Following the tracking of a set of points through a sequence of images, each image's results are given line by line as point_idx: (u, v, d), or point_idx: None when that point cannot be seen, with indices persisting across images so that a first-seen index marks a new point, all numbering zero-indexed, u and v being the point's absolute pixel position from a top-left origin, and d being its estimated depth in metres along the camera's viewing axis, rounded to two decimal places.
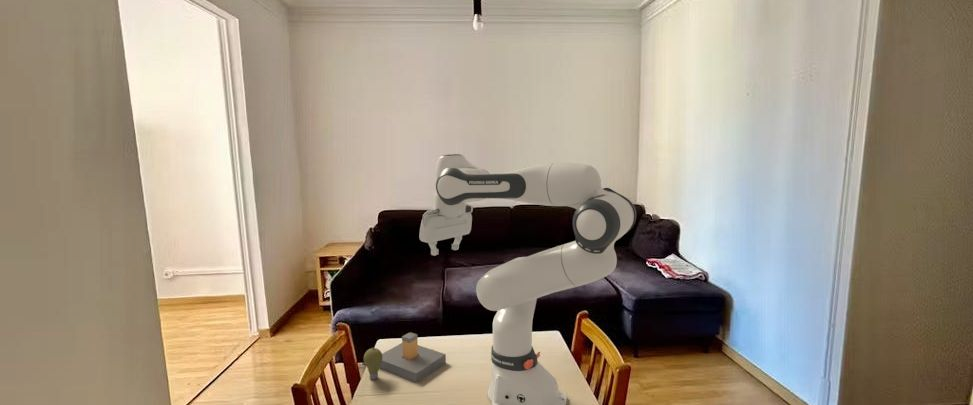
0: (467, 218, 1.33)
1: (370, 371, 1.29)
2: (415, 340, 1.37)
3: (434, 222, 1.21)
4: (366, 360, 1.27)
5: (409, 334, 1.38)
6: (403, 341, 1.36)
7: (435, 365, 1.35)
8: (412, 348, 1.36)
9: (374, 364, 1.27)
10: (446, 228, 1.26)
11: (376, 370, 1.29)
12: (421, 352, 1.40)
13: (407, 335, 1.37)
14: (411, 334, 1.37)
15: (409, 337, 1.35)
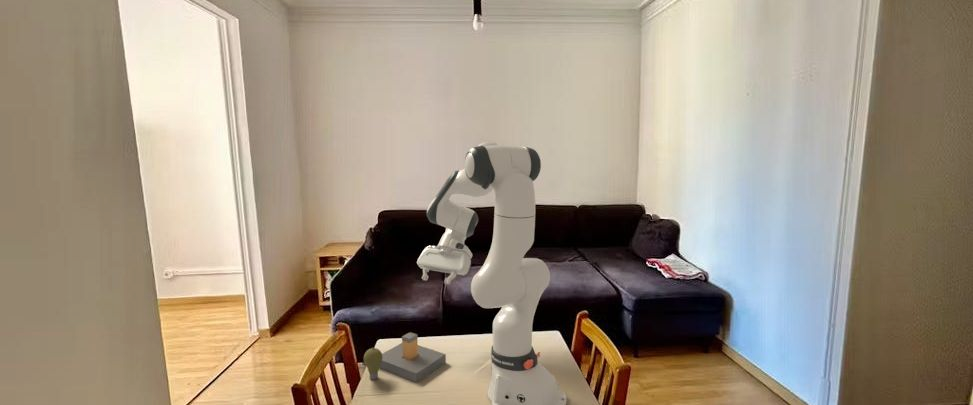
0: (461, 256, 1.49)
1: (370, 371, 1.29)
2: (415, 340, 1.37)
3: (427, 250, 1.56)
4: (366, 360, 1.27)
5: (409, 334, 1.38)
6: (403, 341, 1.36)
7: (435, 365, 1.35)
8: (412, 348, 1.36)
9: (374, 364, 1.27)
10: (437, 258, 1.52)
11: (376, 370, 1.29)
12: (421, 352, 1.40)
13: (407, 335, 1.37)
14: (411, 334, 1.37)
15: (409, 337, 1.35)
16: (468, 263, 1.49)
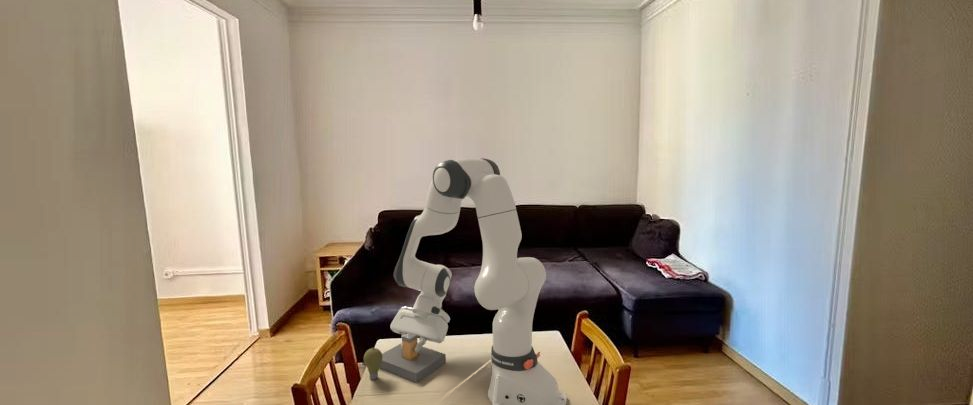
0: (437, 322, 1.37)
1: (370, 371, 1.29)
2: (415, 340, 1.37)
3: (401, 313, 1.45)
4: (366, 360, 1.27)
5: (409, 334, 1.38)
6: (403, 341, 1.36)
7: (435, 365, 1.35)
8: (412, 348, 1.36)
9: (374, 364, 1.27)
10: (411, 323, 1.41)
11: (376, 370, 1.29)
12: (421, 352, 1.40)
13: (407, 335, 1.37)
14: (411, 334, 1.37)
15: (409, 337, 1.35)
16: (445, 329, 1.38)
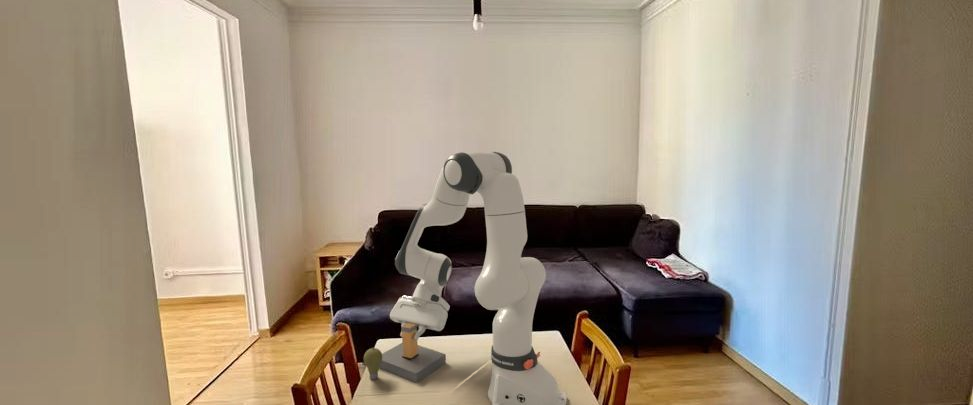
0: (437, 310, 1.37)
1: (370, 371, 1.29)
2: (415, 330, 1.36)
3: (400, 302, 1.44)
4: (366, 360, 1.27)
5: (408, 324, 1.37)
6: (403, 331, 1.35)
7: (435, 365, 1.35)
8: None
9: (374, 364, 1.27)
10: (411, 311, 1.40)
11: (376, 370, 1.29)
12: (421, 352, 1.40)
13: (406, 325, 1.36)
14: (410, 324, 1.37)
15: (409, 327, 1.34)
16: (445, 317, 1.37)
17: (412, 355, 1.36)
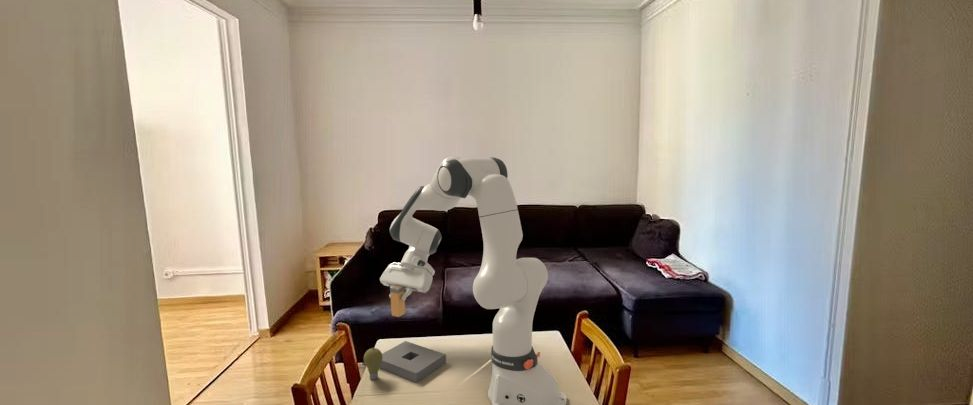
0: (423, 274, 1.50)
1: (370, 371, 1.29)
2: (402, 291, 1.49)
3: (390, 267, 1.57)
4: (366, 360, 1.27)
5: (396, 286, 1.50)
6: (391, 292, 1.48)
7: (435, 365, 1.35)
8: None
9: (374, 364, 1.27)
10: (399, 275, 1.53)
11: (376, 370, 1.29)
12: (421, 352, 1.40)
13: (395, 287, 1.49)
14: (398, 286, 1.50)
15: (397, 289, 1.47)
16: (430, 280, 1.50)
17: (399, 314, 1.49)
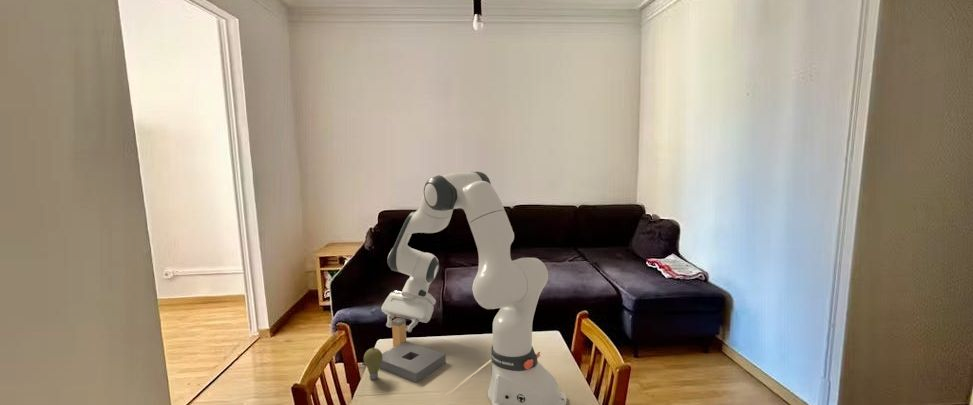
0: (424, 304, 1.51)
1: (370, 371, 1.29)
2: (404, 324, 1.51)
3: (391, 296, 1.58)
4: (366, 360, 1.27)
5: (398, 319, 1.51)
6: (393, 325, 1.50)
7: (435, 365, 1.35)
8: (401, 331, 1.50)
9: (374, 364, 1.27)
10: (400, 305, 1.54)
11: (376, 370, 1.29)
12: (421, 352, 1.40)
13: (396, 320, 1.51)
14: (400, 319, 1.51)
15: (398, 322, 1.49)
16: (431, 310, 1.51)
17: None
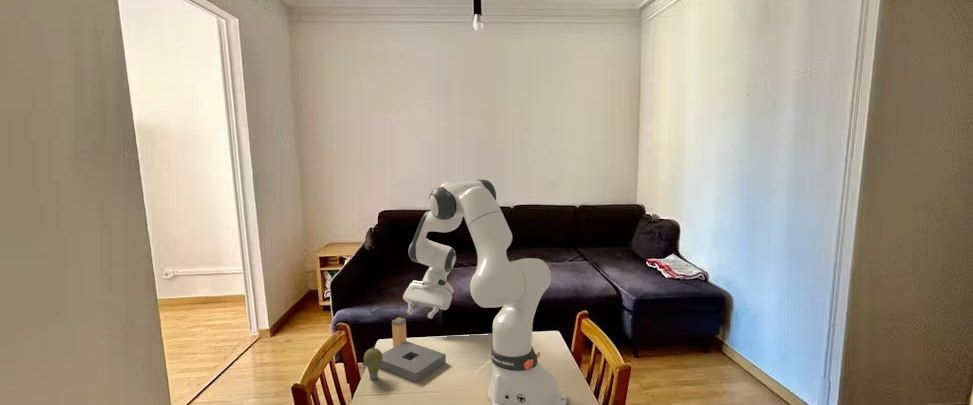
0: (443, 292, 1.62)
1: (370, 371, 1.29)
2: (404, 324, 1.51)
3: (412, 286, 1.70)
4: (366, 360, 1.27)
5: (398, 319, 1.51)
6: (393, 325, 1.50)
7: (435, 365, 1.35)
8: (401, 331, 1.50)
9: (374, 364, 1.27)
10: (421, 293, 1.66)
11: (376, 370, 1.29)
12: (421, 352, 1.40)
13: (396, 319, 1.51)
14: (400, 319, 1.51)
15: (399, 321, 1.49)
16: (450, 298, 1.63)
17: None
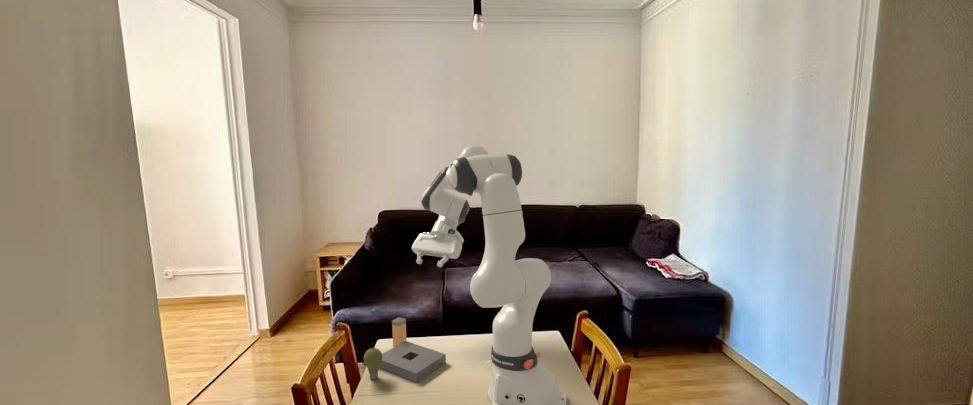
0: (453, 241, 1.58)
1: (370, 371, 1.29)
2: (404, 324, 1.51)
3: (421, 236, 1.66)
4: (366, 360, 1.27)
5: (398, 319, 1.51)
6: (393, 325, 1.50)
7: (435, 365, 1.35)
8: (401, 331, 1.50)
9: (374, 364, 1.27)
10: (430, 243, 1.62)
11: (376, 370, 1.29)
12: (421, 352, 1.40)
13: (396, 319, 1.51)
14: (400, 319, 1.51)
15: (399, 321, 1.49)
16: (460, 247, 1.59)
17: None
